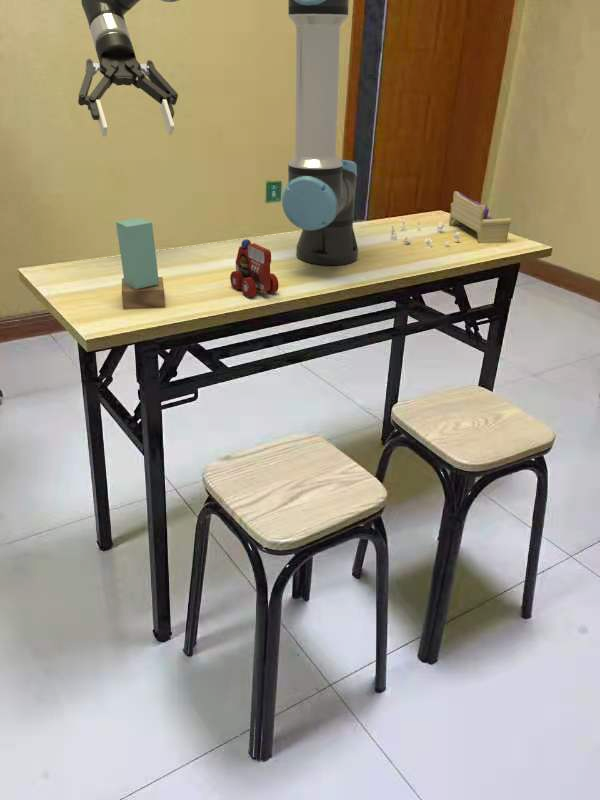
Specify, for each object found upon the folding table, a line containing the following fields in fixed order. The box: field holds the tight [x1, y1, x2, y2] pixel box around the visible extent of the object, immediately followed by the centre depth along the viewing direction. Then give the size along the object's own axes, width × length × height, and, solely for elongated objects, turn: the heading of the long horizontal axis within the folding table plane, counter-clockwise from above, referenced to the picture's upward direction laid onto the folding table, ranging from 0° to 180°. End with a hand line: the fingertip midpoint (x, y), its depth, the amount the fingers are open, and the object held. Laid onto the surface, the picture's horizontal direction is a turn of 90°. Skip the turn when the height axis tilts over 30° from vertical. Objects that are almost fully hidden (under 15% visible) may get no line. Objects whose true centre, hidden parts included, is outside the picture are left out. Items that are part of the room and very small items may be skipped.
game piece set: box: [390, 219, 461, 249], centre depth 187 cm, size 19×20×4 cm
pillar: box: [115, 217, 159, 289], centre depth 132 cm, size 5×5×12 cm
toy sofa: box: [448, 190, 512, 244], centre depth 192 cm, size 21×9×10 cm, turn 14°
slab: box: [121, 276, 166, 310], centre depth 136 cm, size 8×8×4 cm
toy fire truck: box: [230, 239, 280, 298], centre depth 143 cm, size 7×12×10 cm, turn 33°
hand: (139, 131), depth 138 cm, fingers open, 13 cm apart
